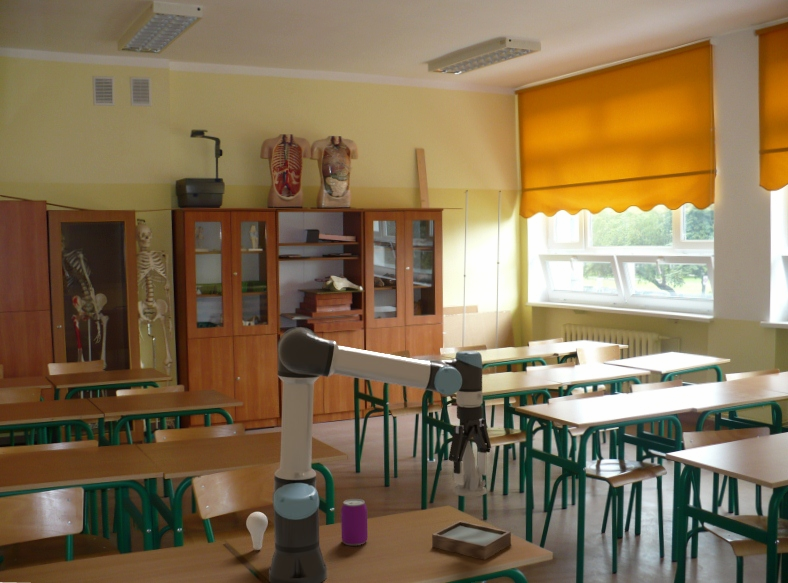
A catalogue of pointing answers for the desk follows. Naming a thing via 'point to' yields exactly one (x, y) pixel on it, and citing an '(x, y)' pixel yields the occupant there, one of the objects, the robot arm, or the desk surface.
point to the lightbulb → (257, 528)
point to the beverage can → (354, 522)
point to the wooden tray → (471, 539)
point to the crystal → (470, 476)
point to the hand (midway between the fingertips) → (470, 479)
